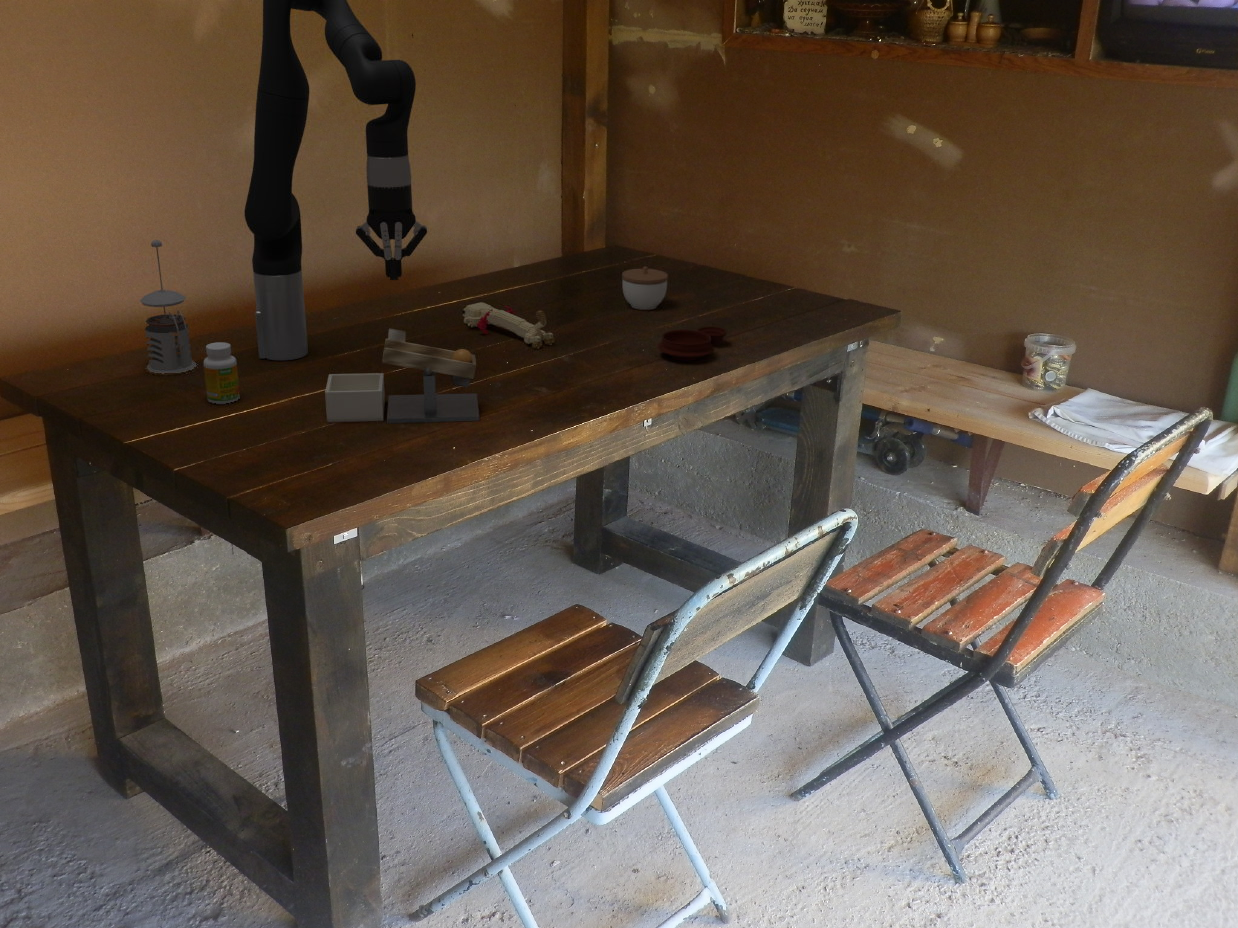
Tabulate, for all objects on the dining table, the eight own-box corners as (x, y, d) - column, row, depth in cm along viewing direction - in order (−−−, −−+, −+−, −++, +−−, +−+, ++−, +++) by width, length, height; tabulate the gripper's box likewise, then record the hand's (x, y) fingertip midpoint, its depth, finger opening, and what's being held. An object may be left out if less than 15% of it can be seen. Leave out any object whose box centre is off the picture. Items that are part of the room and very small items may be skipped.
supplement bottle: (222, 407, 214) (216, 352, 210) (200, 400, 217) (194, 346, 213) (246, 398, 219) (241, 344, 215) (225, 392, 222) (219, 339, 217)
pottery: (646, 358, 248) (647, 338, 246) (695, 336, 263) (696, 316, 261) (695, 369, 242) (697, 349, 240) (742, 346, 257) (743, 326, 256)
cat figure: (560, 348, 256) (483, 314, 271) (563, 309, 253) (484, 277, 267) (527, 358, 250) (449, 323, 264) (529, 318, 246) (450, 285, 260)
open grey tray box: (327, 422, 209) (324, 392, 207) (331, 403, 218) (329, 374, 216) (383, 420, 211) (381, 391, 208) (384, 401, 219) (383, 373, 217)
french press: (183, 356, 239) (169, 232, 230) (211, 371, 232) (197, 243, 222) (135, 366, 233) (118, 238, 223) (162, 382, 226) (146, 250, 216)
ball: (449, 367, 212) (456, 349, 211) (449, 361, 215) (456, 343, 214) (468, 374, 213) (475, 356, 212) (467, 367, 216) (474, 350, 215)
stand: (387, 423, 210) (385, 380, 206) (388, 399, 220) (386, 359, 217) (479, 420, 212) (478, 379, 209) (476, 397, 223) (475, 357, 220)
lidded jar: (674, 305, 285) (676, 266, 281) (651, 315, 277) (653, 275, 273) (636, 297, 290) (637, 259, 286) (612, 307, 282) (613, 268, 278)
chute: (380, 375, 208) (384, 351, 206) (383, 348, 221) (387, 325, 220) (471, 391, 211) (476, 367, 210) (468, 363, 225) (473, 341, 224)
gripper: (349, 185, 204) (355, 285, 211) (427, 185, 206) (431, 284, 213) (351, 177, 211) (357, 274, 217) (427, 177, 213) (431, 273, 219)
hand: (394, 279), depth 215 cm, fingers closed
